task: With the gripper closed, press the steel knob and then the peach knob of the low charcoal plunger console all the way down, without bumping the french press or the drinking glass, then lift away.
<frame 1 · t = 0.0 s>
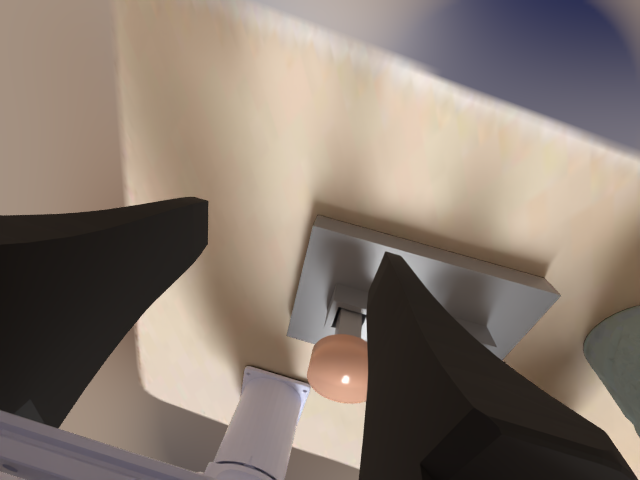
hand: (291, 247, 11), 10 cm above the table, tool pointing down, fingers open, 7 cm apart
peach knob: (346, 343, 18), point 6 cm above the table, slide at 3.0 cm
console: (400, 302, 24), on the table
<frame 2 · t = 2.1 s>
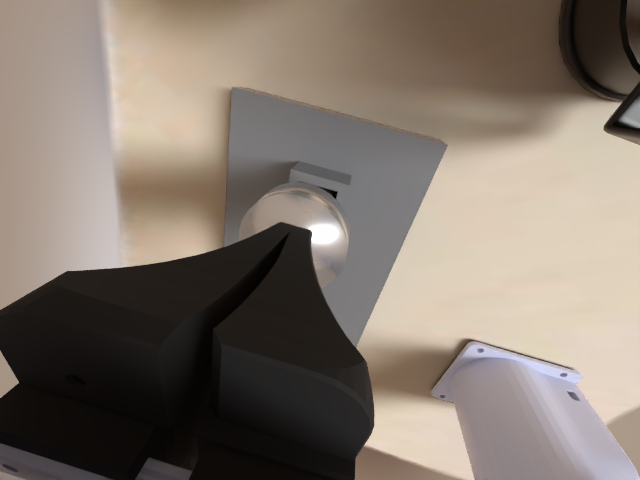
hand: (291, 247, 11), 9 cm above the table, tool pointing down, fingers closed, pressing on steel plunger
console: (310, 239, 20), on the table
steel plunger: (306, 219, 13), point 6 cm above the table, slide at 2.9 cm, touching gripper
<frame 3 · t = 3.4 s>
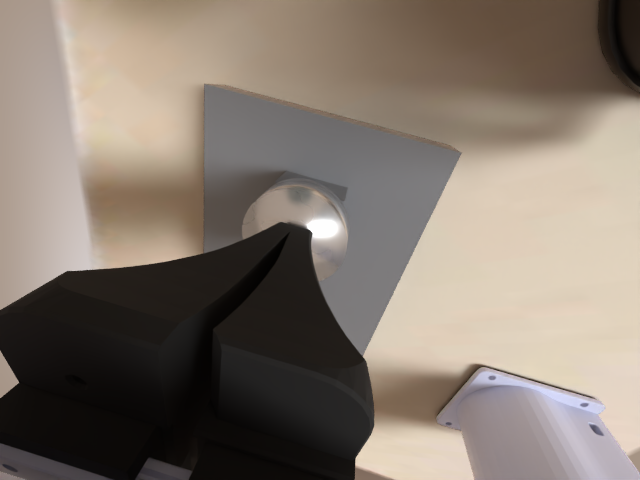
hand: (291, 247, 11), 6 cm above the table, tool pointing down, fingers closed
console: (302, 256, 18), on the table
steel plunger: (306, 214, 13), point 3 cm above the table, slide at -0.1 cm
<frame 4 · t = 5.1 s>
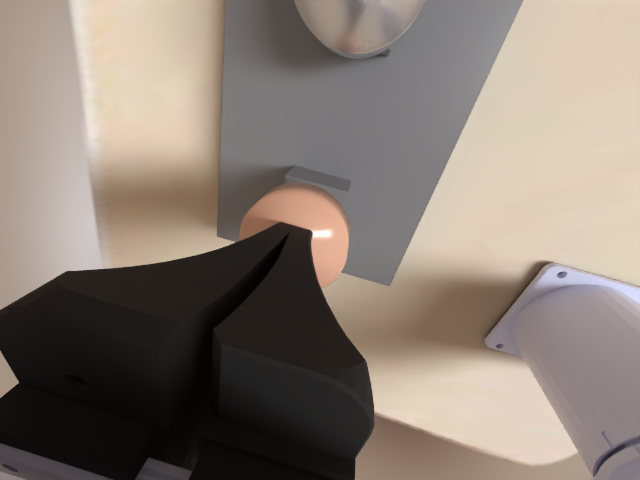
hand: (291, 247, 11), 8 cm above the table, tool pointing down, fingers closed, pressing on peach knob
peach knob: (306, 219, 13), point 5 cm above the table, slide at 1.8 cm, touching gripper
console: (340, 114, 15), on the table
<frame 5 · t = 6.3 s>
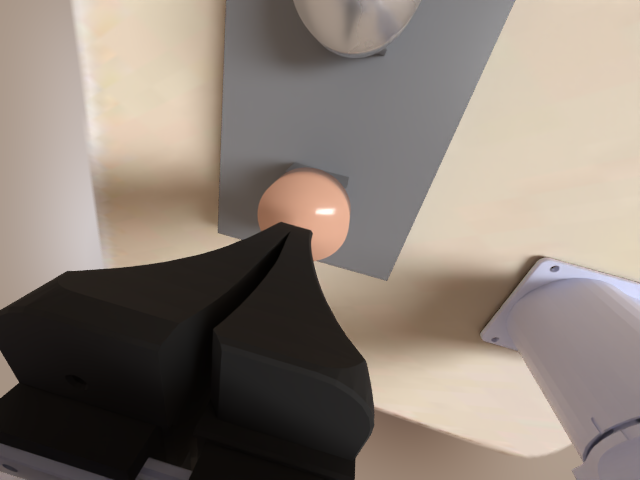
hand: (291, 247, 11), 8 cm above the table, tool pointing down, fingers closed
peach knob: (312, 201, 15), point 3 cm above the table, slide at -0.1 cm
console: (338, 112, 15), on the table
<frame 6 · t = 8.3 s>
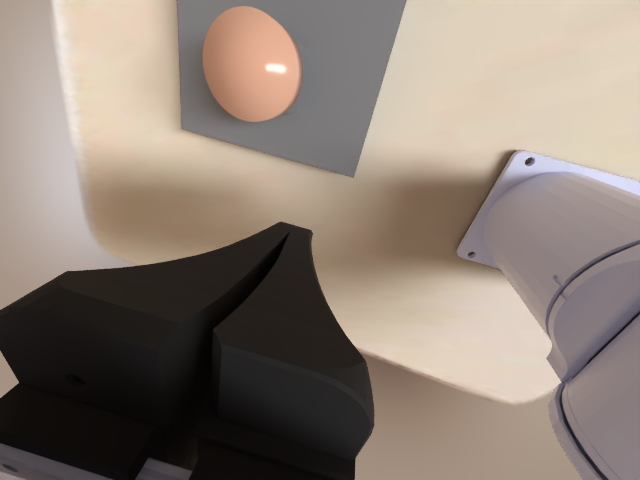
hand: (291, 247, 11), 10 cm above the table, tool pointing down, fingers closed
peach knob: (269, 73, 14), point 3 cm above the table, slide at -0.1 cm
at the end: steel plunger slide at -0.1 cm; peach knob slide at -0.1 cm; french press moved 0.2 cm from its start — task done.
